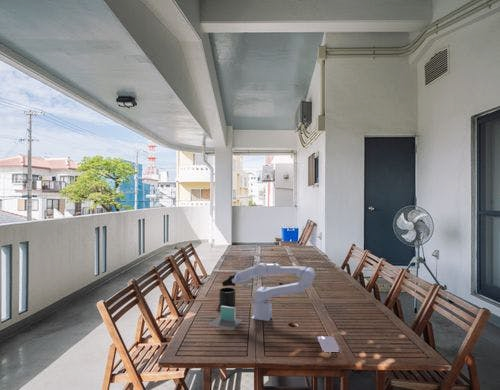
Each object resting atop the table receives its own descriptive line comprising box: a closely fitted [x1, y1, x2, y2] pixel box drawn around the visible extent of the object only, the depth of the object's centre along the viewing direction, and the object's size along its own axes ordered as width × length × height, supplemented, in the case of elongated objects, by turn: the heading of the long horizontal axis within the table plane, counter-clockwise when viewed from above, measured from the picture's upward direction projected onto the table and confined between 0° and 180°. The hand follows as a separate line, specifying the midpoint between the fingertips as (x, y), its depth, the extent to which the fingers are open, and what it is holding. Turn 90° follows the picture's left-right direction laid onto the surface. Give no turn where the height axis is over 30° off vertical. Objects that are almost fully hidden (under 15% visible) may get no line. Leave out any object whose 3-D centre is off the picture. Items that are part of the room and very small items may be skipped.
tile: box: [220, 306, 237, 322], centre depth 174 cm, size 8×1×7 cm, turn 71°
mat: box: [208, 315, 243, 330], centre depth 171 cm, size 14×13×1 cm
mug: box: [218, 287, 236, 307], centre depth 196 cm, size 9×12×9 cm
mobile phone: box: [317, 335, 340, 354], centre depth 148 cm, size 8×1×15 cm
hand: (225, 282), depth 185 cm, fingers open, 7 cm apart
